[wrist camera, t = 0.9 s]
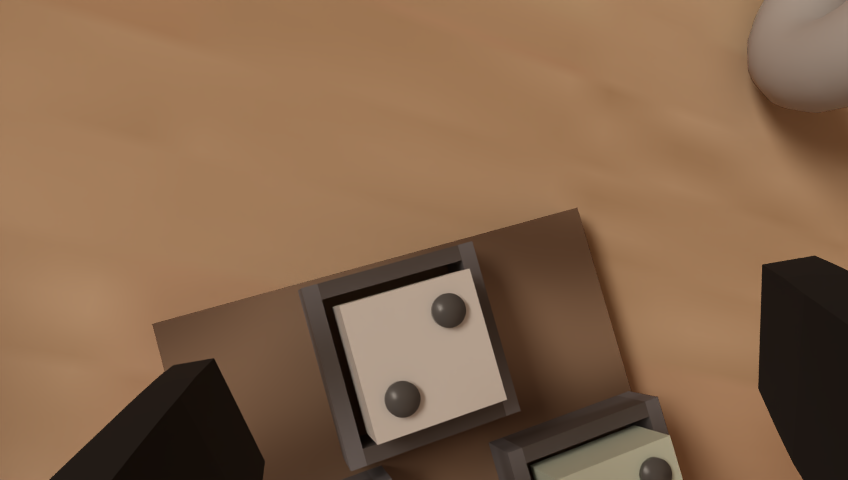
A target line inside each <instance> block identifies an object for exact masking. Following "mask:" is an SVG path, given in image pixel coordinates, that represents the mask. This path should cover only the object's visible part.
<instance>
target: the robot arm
mask: <svg viewBox="0 0 848 480" xmlns="http://www.w3.org/2000/svg"><path fill="white" fill-rule="evenodd" d="M758 389H759V391H760V393H761V396H762V398H763V400H764V402H765V405H766V407H767V409H768V411H769V413H770V416H771V418H772V420H773V422H774V425H775V427H776V429H777V431H778V433H779V435H780V437H781V439H782V441H783V443H784V446H785V448H786V450H787V452H788V454H789V456H790V458H791V460H792V462H793V464H794V465H795V467H796V469H797V470H798V472H799V474H800V475H801V477H802V479H803V480H848V270H845V269H843V268H841V267H839V266H837V265H835V264H833V263H830V262H828V261H826V260H824V259H821V258H819V257H817V256H810V257H804V258H798V259H793V260H787V261H781V262H775V263H769V264H763V265H762V291H761V322H760V353H759V383H758ZM264 466H265V460H264V458H263V456H262V454H261V452H260V450H259V448H258V446H257V444H256V442H255V440H254V438H253V436H252V434H251V432H250V430H249V428H248V426H247V424H246V422H245V420H244V418H243V416H242V413H241V411H240V409H239V407H238V405H237V403H236V401H235V399H234V397H233V395H232V393H231V391H230V389H229V387H228V385H227V383H226V381H225V379H224V377H223V375H222V373H221V371H220V369H219V367H218V365H217V363H216V361H215V359H214V358H212V359H206V360H200V361H194V362H188V363H182V364H176V365H173V366H171V367H170V368H169V369H168V370H166V371H165V372H164V373H163V374H162V375H160V376H159V377H158V378H157V379H156V380H155V381H153V382H152V383H151V384H150V385H149V386H148V387H147V388H146V389H145V390H143V391H142V392H141V393H140V394H139V395H138V396H137V397H136V398H135V399H134V400H133V401H132V402H130V403H129V404H128V405H127V406H126V407H125V408H124V409H123V410H122V411H121V412H120V413H119V414H118V415H117V416H116V417H115V418H114V419H113V420H111V421H110V422H109V423H108V424H107V425H106V426H105V427H104V428H103V429H102V430H101V431H100V432H99V433H98V434H97V435H96V436H95V437H94V438H93V439H92V440H91V441H90V442H88V443H87V444H86V445H85V446H84V447H83V448H82V449H81V450H80V451H79V452H78V453H77V454H76V455H75V456H74V457H73V458H72V459H71V460H70V461H68V462H67V463H66V464H65V465H64V466H63V467H62V468H61V469H60V470H59V471H58V472H57V473H56V474H55V475H54V476H53V477H52V478H51V479H50V480H263V474H264Z"/></svg>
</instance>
